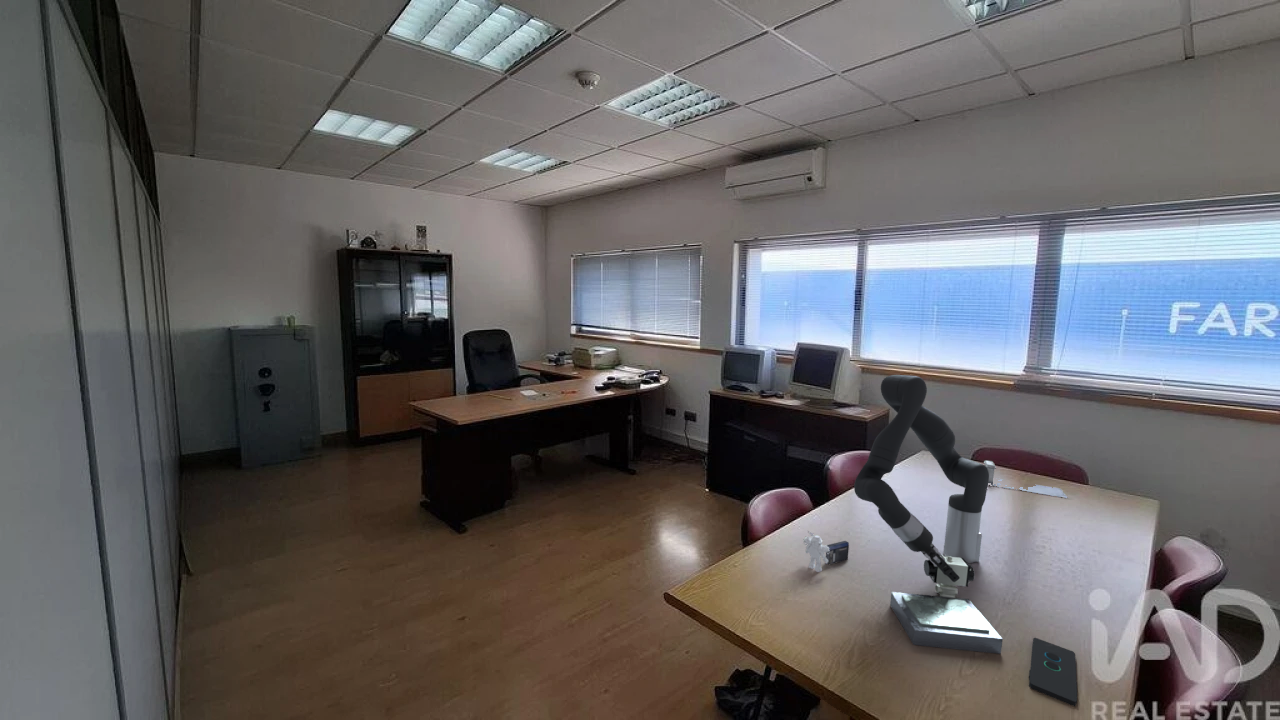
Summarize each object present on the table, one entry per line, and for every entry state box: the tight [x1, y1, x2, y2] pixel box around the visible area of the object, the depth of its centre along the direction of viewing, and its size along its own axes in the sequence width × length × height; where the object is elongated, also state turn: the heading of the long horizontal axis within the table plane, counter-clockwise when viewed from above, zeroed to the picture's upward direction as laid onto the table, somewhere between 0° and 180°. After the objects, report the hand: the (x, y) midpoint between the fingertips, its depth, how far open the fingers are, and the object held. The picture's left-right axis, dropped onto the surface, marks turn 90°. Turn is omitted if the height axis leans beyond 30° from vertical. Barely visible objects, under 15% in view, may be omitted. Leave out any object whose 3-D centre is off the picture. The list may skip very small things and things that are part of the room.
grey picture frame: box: [889, 591, 1003, 655], centre depth 129 cm, size 20×16×5 cm
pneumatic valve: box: [923, 554, 975, 598], centre depth 143 cm, size 6×12×12 cm, turn 78°
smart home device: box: [1028, 637, 1078, 707], centre depth 115 cm, size 8×2×20 cm
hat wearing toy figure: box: [803, 530, 830, 573], centre depth 156 cm, size 9×4×12 cm, turn 35°
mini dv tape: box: [825, 540, 850, 565], centre depth 161 cm, size 8×2×6 cm, turn 114°
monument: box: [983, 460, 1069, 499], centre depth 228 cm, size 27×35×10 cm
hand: (949, 571), depth 143 cm, fingers open, 8 cm apart
